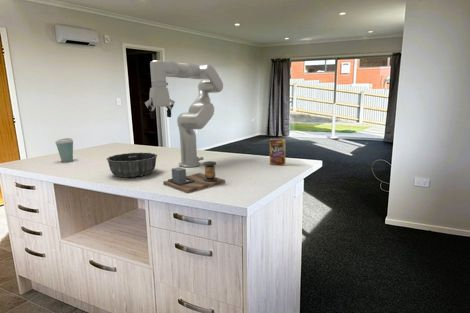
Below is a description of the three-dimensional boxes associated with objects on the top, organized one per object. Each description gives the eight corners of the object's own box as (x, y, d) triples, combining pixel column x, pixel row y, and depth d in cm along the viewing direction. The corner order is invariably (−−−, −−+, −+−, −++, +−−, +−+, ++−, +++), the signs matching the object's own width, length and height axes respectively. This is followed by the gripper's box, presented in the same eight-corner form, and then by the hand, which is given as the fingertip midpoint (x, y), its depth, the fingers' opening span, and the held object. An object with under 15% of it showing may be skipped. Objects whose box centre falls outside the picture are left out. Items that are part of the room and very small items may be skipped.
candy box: (269, 165, 191) (269, 139, 188) (271, 163, 195) (271, 138, 192) (284, 165, 188) (284, 139, 185) (285, 164, 192) (285, 138, 189)
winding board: (199, 175, 170) (199, 156, 168) (225, 182, 156) (224, 162, 154) (163, 184, 155) (162, 164, 153) (187, 193, 141) (186, 170, 139)
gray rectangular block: (179, 179, 158) (178, 167, 157) (186, 181, 153) (185, 169, 152) (172, 180, 155) (171, 168, 154) (179, 183, 151) (178, 170, 150)
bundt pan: (133, 166, 195) (132, 150, 193) (168, 170, 183) (167, 153, 181) (97, 177, 172) (95, 159, 170) (133, 182, 160) (132, 163, 158)
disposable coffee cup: (68, 163, 210) (66, 140, 207) (54, 162, 211) (51, 140, 208) (79, 159, 220) (76, 137, 217) (64, 159, 222) (62, 137, 219)
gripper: (169, 85, 177) (171, 116, 181) (140, 85, 166) (143, 118, 169) (177, 84, 172) (178, 116, 175) (147, 84, 160) (150, 119, 164)
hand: (161, 117), depth 172 cm, fingers open, 9 cm apart
